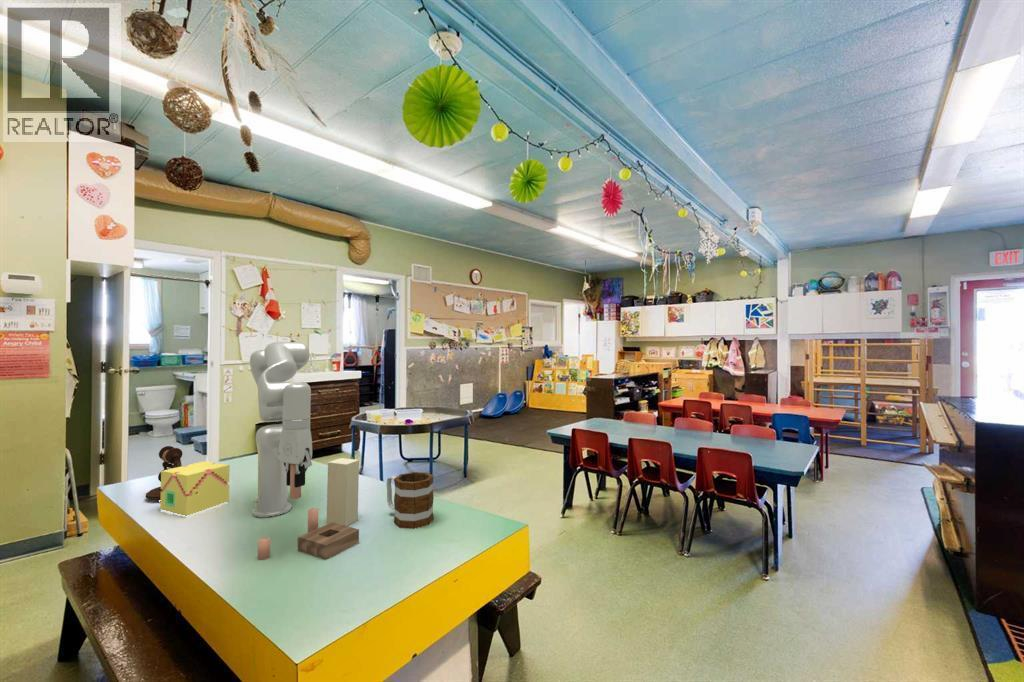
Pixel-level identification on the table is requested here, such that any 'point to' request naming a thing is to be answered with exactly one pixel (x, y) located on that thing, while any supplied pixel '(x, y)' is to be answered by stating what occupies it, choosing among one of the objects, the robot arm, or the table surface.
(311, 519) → the pin medium
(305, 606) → the table surface
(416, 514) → the mug
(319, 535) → the hole block
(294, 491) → the pin long
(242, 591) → the table surface
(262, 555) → the pin short
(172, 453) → the brown rounded figure
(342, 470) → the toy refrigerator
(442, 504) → the table surface
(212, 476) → the toy block
